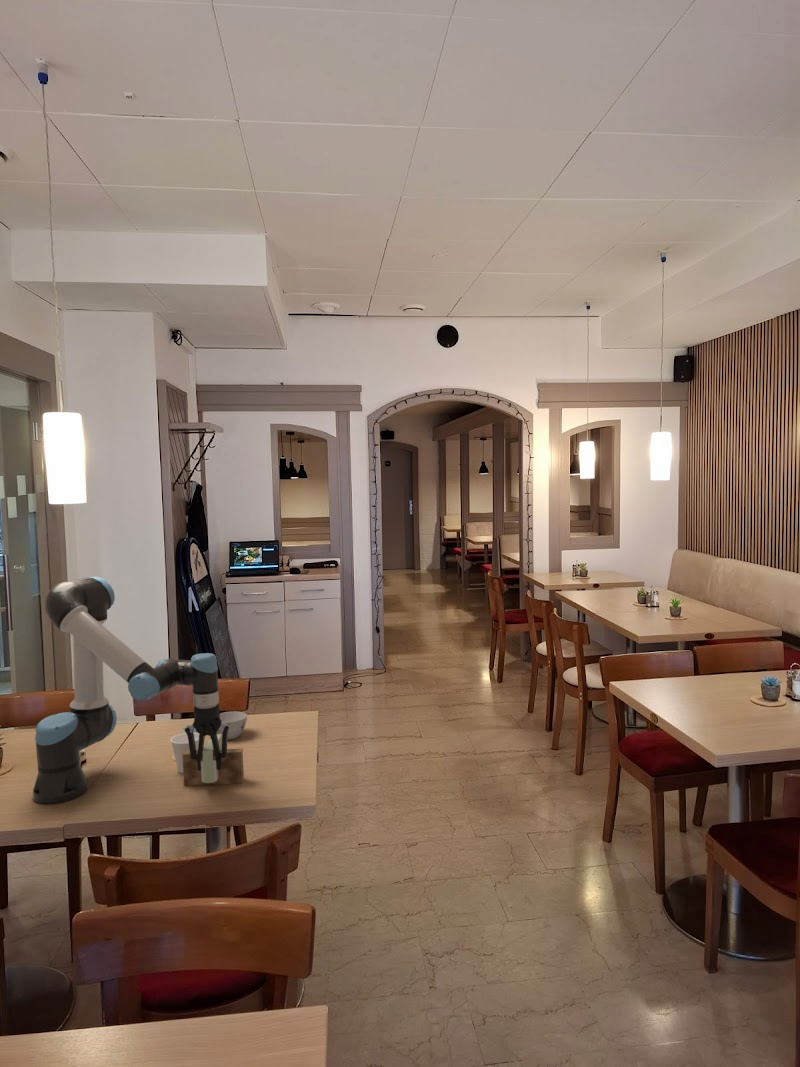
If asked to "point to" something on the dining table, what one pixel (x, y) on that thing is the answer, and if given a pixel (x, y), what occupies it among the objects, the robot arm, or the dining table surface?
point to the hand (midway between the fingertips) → (210, 779)
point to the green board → (210, 760)
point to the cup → (182, 747)
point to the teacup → (233, 723)
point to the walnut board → (227, 773)
